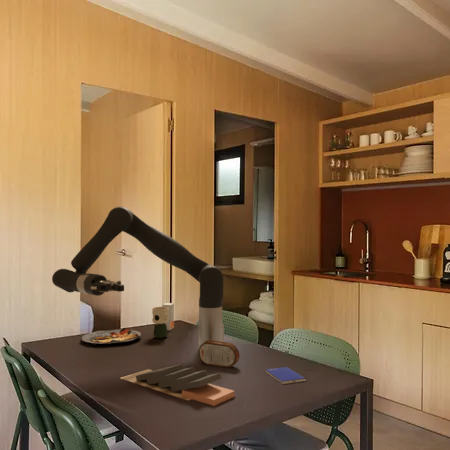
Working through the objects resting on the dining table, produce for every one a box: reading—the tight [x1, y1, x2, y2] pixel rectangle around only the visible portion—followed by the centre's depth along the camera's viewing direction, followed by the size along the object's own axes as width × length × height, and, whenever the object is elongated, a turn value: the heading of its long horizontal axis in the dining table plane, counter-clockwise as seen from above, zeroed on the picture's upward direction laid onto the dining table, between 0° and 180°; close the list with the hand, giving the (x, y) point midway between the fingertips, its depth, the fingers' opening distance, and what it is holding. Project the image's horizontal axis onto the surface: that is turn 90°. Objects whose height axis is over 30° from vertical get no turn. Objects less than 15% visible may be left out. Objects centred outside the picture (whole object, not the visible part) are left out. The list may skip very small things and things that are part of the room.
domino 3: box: [158, 369, 209, 388], centre depth 140 cm, size 2×9×12 cm
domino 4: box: [170, 372, 222, 392], centre depth 137 cm, size 2×9×12 cm
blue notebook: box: [265, 366, 307, 385], centre depth 154 cm, size 2×8×12 cm
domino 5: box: [182, 383, 235, 407], centre depth 134 cm, size 2×9×12 cm
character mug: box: [151, 306, 169, 339], centre depth 207 cm, size 11×7×13 cm, turn 39°
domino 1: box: [136, 363, 184, 381], centre depth 146 cm, size 2×9×12 cm
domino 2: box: [146, 366, 196, 384], centre depth 143 cm, size 2×9×12 cm
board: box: [120, 368, 192, 401], centre depth 145 cm, size 30×12×1 cm, turn 51°
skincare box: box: [161, 302, 175, 331], centre depth 224 cm, size 6×4×12 cm
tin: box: [198, 340, 240, 368], centre depth 166 cm, size 15×3×8 cm, turn 65°
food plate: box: [81, 327, 142, 345], centre depth 203 cm, size 25×23×4 cm
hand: (122, 288), depth 159 cm, fingers closed
